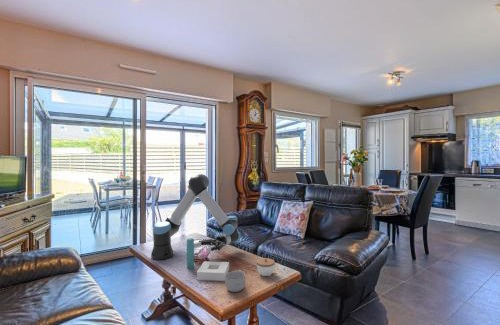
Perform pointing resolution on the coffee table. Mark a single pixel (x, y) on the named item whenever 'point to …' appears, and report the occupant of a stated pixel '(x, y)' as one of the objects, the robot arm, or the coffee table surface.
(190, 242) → the peg
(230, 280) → the teacup
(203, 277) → the socket block
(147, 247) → the coffee table surface
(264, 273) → the lidded jar
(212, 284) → the coffee table surface
